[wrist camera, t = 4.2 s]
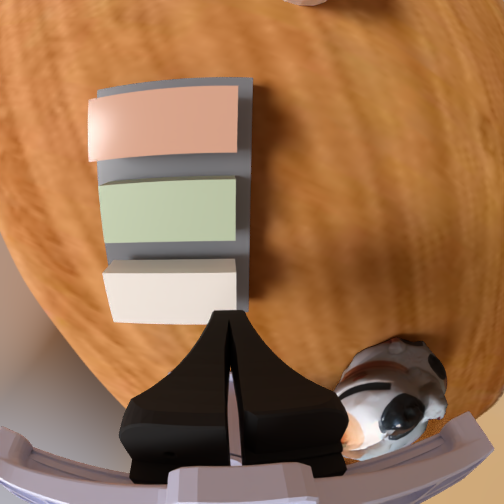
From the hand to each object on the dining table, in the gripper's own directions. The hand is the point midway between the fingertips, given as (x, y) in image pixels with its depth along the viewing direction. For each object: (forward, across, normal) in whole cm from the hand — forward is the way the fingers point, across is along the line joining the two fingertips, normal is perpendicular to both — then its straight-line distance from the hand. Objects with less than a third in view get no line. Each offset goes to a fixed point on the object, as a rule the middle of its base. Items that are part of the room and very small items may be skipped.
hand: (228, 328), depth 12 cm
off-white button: (+6, +4, +1) cm, 7 cm away
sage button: (+7, +3, -4) cm, 9 cm away
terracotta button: (+6, +3, -9) cm, 11 cm away
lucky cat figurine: (+10, -15, +16) cm, 24 cm away
